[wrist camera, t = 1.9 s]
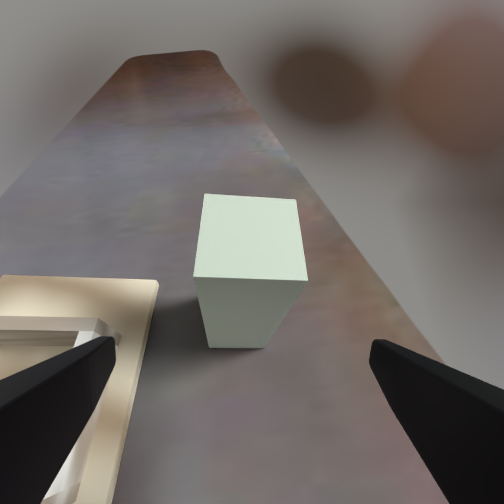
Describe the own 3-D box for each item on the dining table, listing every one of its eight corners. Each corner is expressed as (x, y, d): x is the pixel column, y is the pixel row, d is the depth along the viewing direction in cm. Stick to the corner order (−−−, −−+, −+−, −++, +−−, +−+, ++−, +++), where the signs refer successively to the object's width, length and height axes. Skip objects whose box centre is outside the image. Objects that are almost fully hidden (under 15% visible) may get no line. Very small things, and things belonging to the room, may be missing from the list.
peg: (264, 348, 20) (307, 280, 10) (209, 347, 19) (193, 276, 9) (262, 296, 22) (295, 199, 12) (213, 295, 22) (204, 193, 12)
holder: (84, 628, 12) (7, 746, 8) (-207, 653, 11) (-483, 806, 6) (159, 285, 22) (143, 254, 17) (11, 280, 21) (-42, 246, 16)
